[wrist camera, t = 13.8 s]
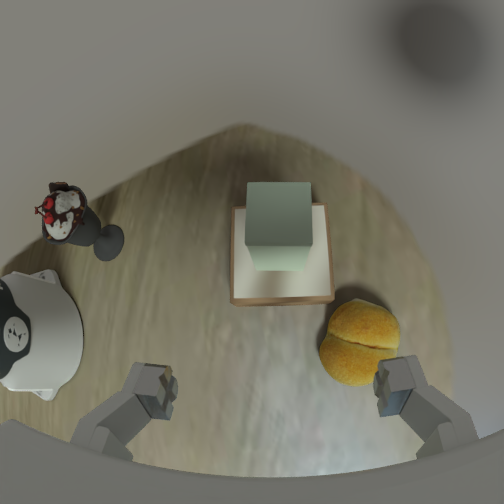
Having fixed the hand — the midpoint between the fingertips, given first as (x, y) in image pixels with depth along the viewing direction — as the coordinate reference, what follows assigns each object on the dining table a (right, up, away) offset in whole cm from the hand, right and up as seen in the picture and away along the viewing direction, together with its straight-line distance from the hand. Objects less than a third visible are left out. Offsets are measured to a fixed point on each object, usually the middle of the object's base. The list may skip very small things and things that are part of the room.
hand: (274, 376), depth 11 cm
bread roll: (+11, -5, +19) cm, 23 cm away
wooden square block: (+2, +4, +23) cm, 23 cm away
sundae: (-19, +6, +26) cm, 33 cm away
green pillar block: (+2, +5, +19) cm, 20 cm away
